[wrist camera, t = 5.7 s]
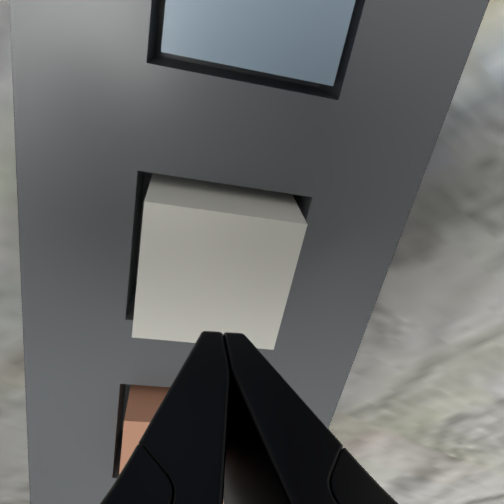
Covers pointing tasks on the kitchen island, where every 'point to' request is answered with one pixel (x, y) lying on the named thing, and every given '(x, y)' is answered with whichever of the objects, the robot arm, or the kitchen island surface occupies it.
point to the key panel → (213, 170)
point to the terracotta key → (139, 416)
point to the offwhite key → (215, 260)
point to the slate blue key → (261, 34)
